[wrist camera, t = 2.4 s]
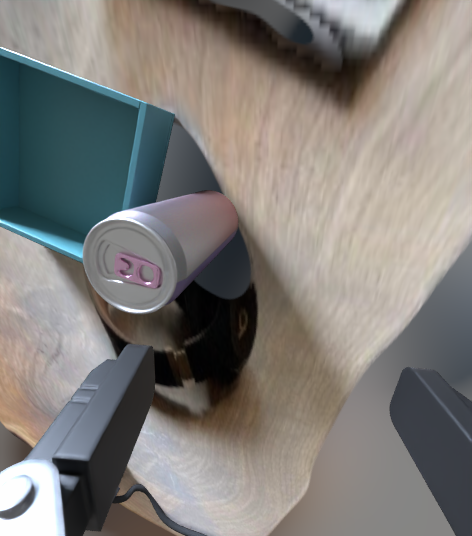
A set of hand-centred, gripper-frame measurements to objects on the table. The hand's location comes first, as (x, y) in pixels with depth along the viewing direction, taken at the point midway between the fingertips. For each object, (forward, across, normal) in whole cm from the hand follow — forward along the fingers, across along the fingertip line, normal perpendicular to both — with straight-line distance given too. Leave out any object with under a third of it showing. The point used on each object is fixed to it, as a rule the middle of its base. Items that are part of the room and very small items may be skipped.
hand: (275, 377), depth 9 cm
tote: (+24, -19, +5) cm, 31 cm away
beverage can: (+21, -5, +1) cm, 22 cm away
